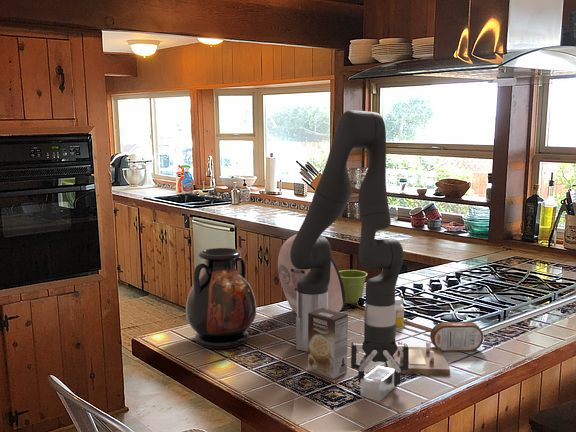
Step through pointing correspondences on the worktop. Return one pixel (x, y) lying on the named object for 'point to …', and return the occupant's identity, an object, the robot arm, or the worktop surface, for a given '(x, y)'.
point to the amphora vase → (220, 300)
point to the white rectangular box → (377, 383)
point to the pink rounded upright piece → (293, 275)
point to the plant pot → (353, 284)
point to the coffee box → (327, 342)
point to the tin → (456, 336)
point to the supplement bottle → (399, 313)
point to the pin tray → (423, 360)
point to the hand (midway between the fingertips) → (379, 384)
